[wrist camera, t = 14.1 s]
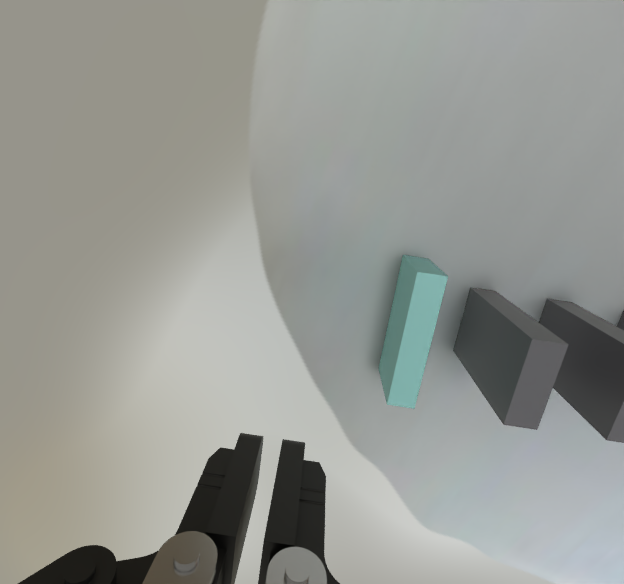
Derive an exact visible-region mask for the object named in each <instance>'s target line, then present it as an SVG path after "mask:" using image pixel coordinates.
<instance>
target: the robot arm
mask: <svg viewBox="0 0 624 584" xmlns="http://www.w3.org/2000/svg"><path fill="white" fill-rule="evenodd" d="M262 445H263V436H257V435H250V434H244V433H241V434H240V436H239V438H238V441H237V444H236V447H235V449H234V450H232V449H226V448H220V449H218V450H217V451H216V452H215V453H214V454H213V455H212V456H211V457H210V458H209V459H208V461H207V464H206V466H205V469H204V471H203V474H202V475H201V478H200V480H199V482H198V486H197V487H196V489H195V491H194V494H193V496H192V498H191V501H190V503H189V506H188V508H187V510H186V512H185V514H184V517H183V519H182V522H181V524H180V526H179V528H178V531H177V532H176V534H175V536H173V537H171V538H170V539H168V540H167V541H166V542H165V543H164V544H163V545H162V547H161V548H160V549H159V551H157V552H155V553H153V554H151V555H148V556H144V557H140V558H134V559H129V560H122V561H116V559H115V556H114V554H113V553H112V552H111V551H110V550H109V549H107V548H105V547H103V546H98V545H90V546H84V547H81V548H77V549H75V550H73V551H71V552H69V553H67V554H65V555H64V556H62V557H60V558H59V559H57V560H56V561H54V562H52V563H51V564H49V565H47V566H46V567H44V568H43V569H41V570H39V571H38V572H36V573H35V574H33V575H31V576H30V577H28V578H26V579H25V580H23V581H22V582H20V583H18V584H234V583H235V578H236V574H237V570H238V566H239V562H240V558H241V553H242V549H243V545H244V541H245V537H246V532H247V528H248V524H249V520H250V516H251V511H252V507H253V503H254V499H255V494H256V490H257V484H258V478H259V470H260V461H261V454H262ZM304 449H305V443H304V442H297V441H290V440H284V439H283V441H282V447H281V452H280V457H279V463H278V468H277V473H276V479H275V484H274V489H273V495H272V500H271V506H270V511H269V516H268V521H267V527H266V532H265V538H264V544H263V551H262V559H261V566H260V574H259V581H258V584H340V583H338V582H337V581H336V580H335V579H334V577H333V576H332V575H331V573H330V572H329V570H328V568H327V565H326V563H325V558H324V533H325V532H324V531H325V529H324V528H325V487H326V486H325V485H326V476H325V473H324V471H323V469H322V467H321V465H320V463H319V462H312V461H306V460H303V459H304Z"/></svg>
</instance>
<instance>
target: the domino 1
mask: <svg viewBox="0 0 624 584" xmlns="http://www.w3.org/2000/svg"><path fill="white" fill-rule="evenodd" d="M447 279H448V276H447V275H446V274H445V273H444V272H443V271H441V270H440V269H439V268H438V267H437V266H436V265H435V264H434V263H433V262H432V261H430V260H429V259H427V258H420V257H414V256H407V255H403V257H402V262H401V267H400V271H399V276H398V281H397V285H396V290H395V295H394V299H393V304H392V309H391V313H390V318H389V322H388V327H387V332H386V336H385V341H384V346H383V350H382V355H381V360H380V364H379V372H380V376H381V381H382V385H383V389H384V394H385V398H386V402H387V405H394V406H400V407H407V408H415V404H416V400H417V396H418V392H419V389H420V385H421V381H422V377H423V373H424V369H425V365H426V361H427V357H428V353H429V349H430V345H431V342H432V338H433V334H434V330H435V326H436V322H437V318H438V314H439V310H440V306H441V302H442V298H443V294H444V291H445V287H446V283H447Z"/></svg>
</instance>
